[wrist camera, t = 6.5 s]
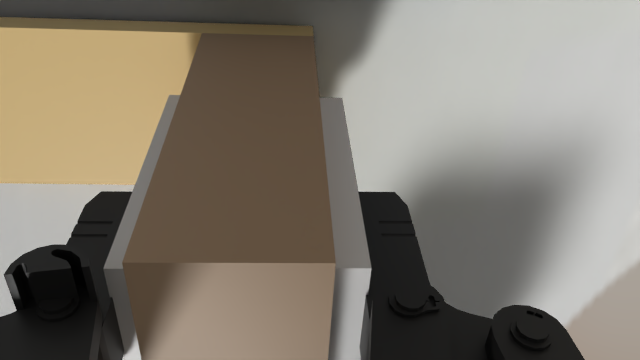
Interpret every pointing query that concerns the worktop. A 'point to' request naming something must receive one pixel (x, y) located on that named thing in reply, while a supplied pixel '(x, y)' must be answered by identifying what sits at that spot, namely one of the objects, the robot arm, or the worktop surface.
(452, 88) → the worktop surface
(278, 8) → the worktop surface
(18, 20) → the wooden l-shaped block
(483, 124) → the worktop surface
